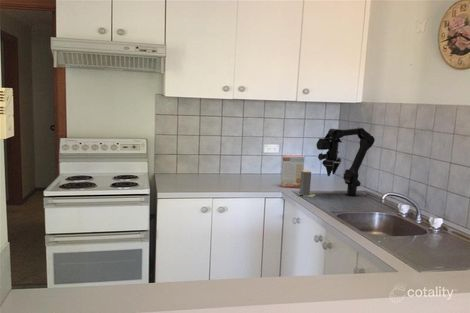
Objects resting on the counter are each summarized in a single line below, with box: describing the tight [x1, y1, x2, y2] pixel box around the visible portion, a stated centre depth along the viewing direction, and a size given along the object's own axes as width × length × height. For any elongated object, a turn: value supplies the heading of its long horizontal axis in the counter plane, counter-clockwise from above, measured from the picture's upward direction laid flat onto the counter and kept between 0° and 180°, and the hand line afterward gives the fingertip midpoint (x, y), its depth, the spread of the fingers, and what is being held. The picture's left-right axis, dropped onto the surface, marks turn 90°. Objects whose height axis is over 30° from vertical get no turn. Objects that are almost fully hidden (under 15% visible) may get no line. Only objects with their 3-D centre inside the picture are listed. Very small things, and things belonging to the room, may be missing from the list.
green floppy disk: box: [299, 193, 316, 198], centre depth 257 cm, size 7×8×1 cm
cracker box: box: [280, 154, 305, 189], centre depth 279 cm, size 14×6×21 cm, turn 92°
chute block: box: [299, 169, 312, 195], centre depth 255 cm, size 4×4×14 cm
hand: (331, 175), depth 257 cm, fingers open, 9 cm apart
